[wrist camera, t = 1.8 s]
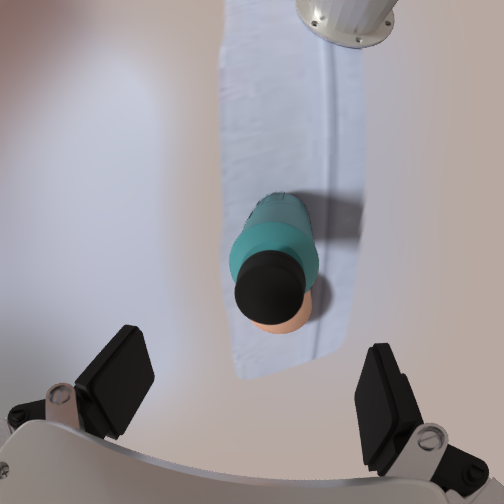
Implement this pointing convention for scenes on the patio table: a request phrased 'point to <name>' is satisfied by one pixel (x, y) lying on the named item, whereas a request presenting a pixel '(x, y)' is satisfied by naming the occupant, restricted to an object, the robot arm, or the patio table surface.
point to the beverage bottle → (274, 260)
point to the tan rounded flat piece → (292, 323)
